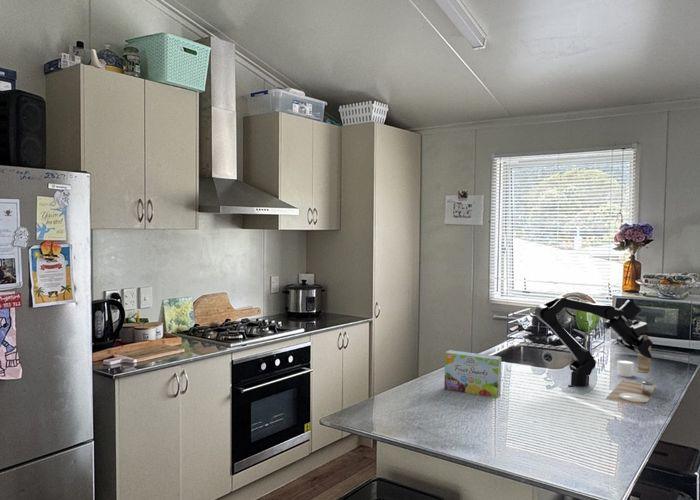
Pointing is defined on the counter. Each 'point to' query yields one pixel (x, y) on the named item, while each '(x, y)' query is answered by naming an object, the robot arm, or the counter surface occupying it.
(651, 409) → the counter surface
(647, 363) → the pepper mill
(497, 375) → the snack box
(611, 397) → the serving board
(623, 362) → the white cup
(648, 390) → the spice tin
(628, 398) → the white saucer
